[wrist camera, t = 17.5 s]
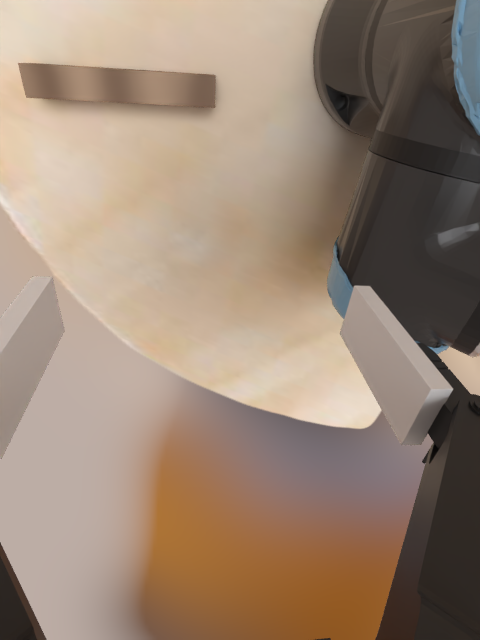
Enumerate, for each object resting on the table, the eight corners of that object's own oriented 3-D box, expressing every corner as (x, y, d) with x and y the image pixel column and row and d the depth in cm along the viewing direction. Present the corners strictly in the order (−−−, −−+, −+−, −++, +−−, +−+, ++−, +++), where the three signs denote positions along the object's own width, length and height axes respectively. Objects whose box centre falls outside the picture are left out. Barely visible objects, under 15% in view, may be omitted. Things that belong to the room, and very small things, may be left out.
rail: (213, 74, 35) (215, 75, 31) (212, 103, 37) (214, 107, 33) (39, 63, 34) (18, 62, 30) (45, 94, 35) (26, 97, 31)
